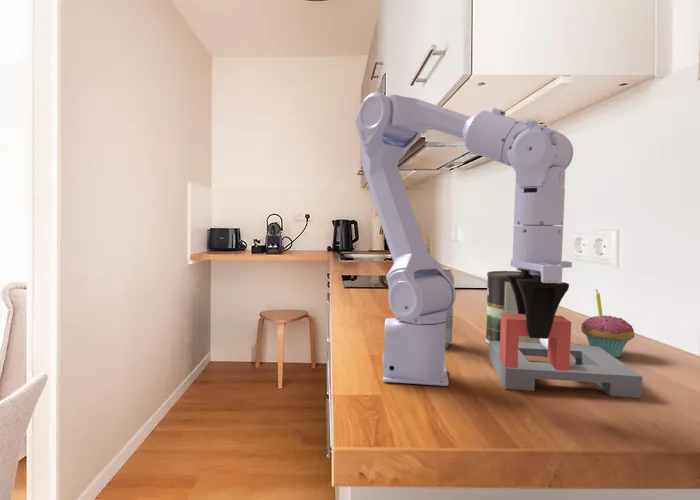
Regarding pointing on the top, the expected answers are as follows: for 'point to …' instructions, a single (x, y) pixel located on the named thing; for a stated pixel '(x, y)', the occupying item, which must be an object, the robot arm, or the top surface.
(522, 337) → the coffee can
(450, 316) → the energy drink can
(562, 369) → the red arch block
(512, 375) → the grey frame with dowel
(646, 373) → the top surface
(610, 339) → the cupcake
